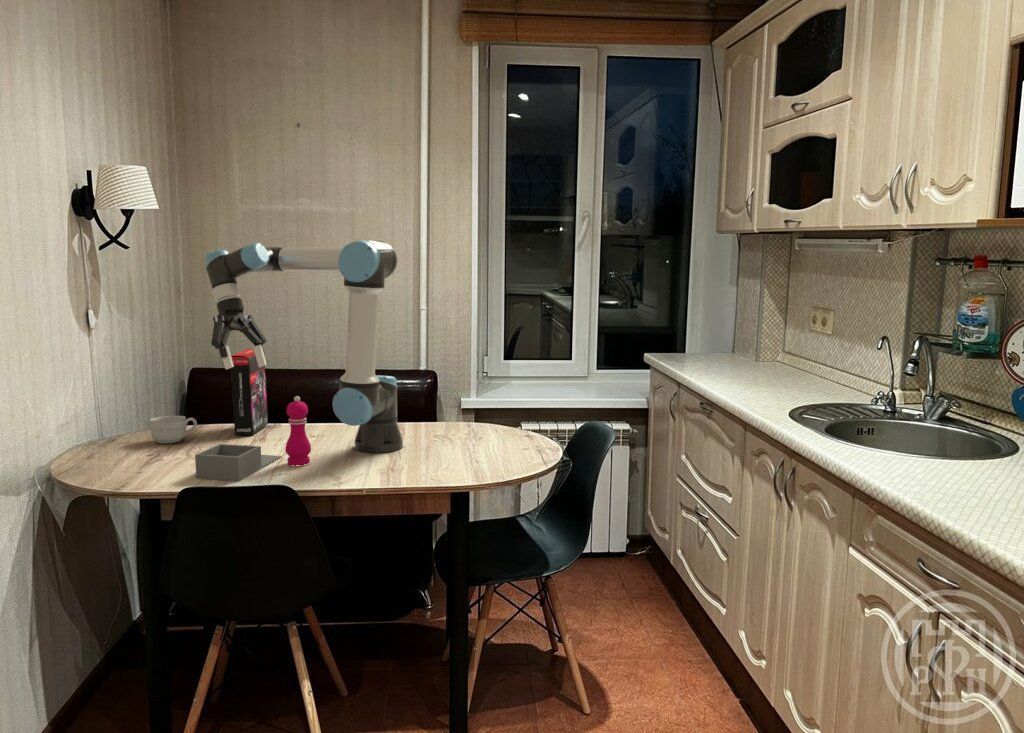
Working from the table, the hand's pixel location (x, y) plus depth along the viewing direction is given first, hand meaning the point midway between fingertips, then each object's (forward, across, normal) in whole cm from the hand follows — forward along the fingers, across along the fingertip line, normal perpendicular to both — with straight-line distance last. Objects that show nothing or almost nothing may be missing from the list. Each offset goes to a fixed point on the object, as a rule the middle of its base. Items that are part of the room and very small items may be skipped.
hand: (246, 367), depth 245 cm
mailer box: (+29, +12, 0) cm, 32 cm away
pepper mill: (+33, +1, +10) cm, 35 cm away
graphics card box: (+15, -24, -28) cm, 40 cm away
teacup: (+13, 0, -38) cm, 40 cm away
